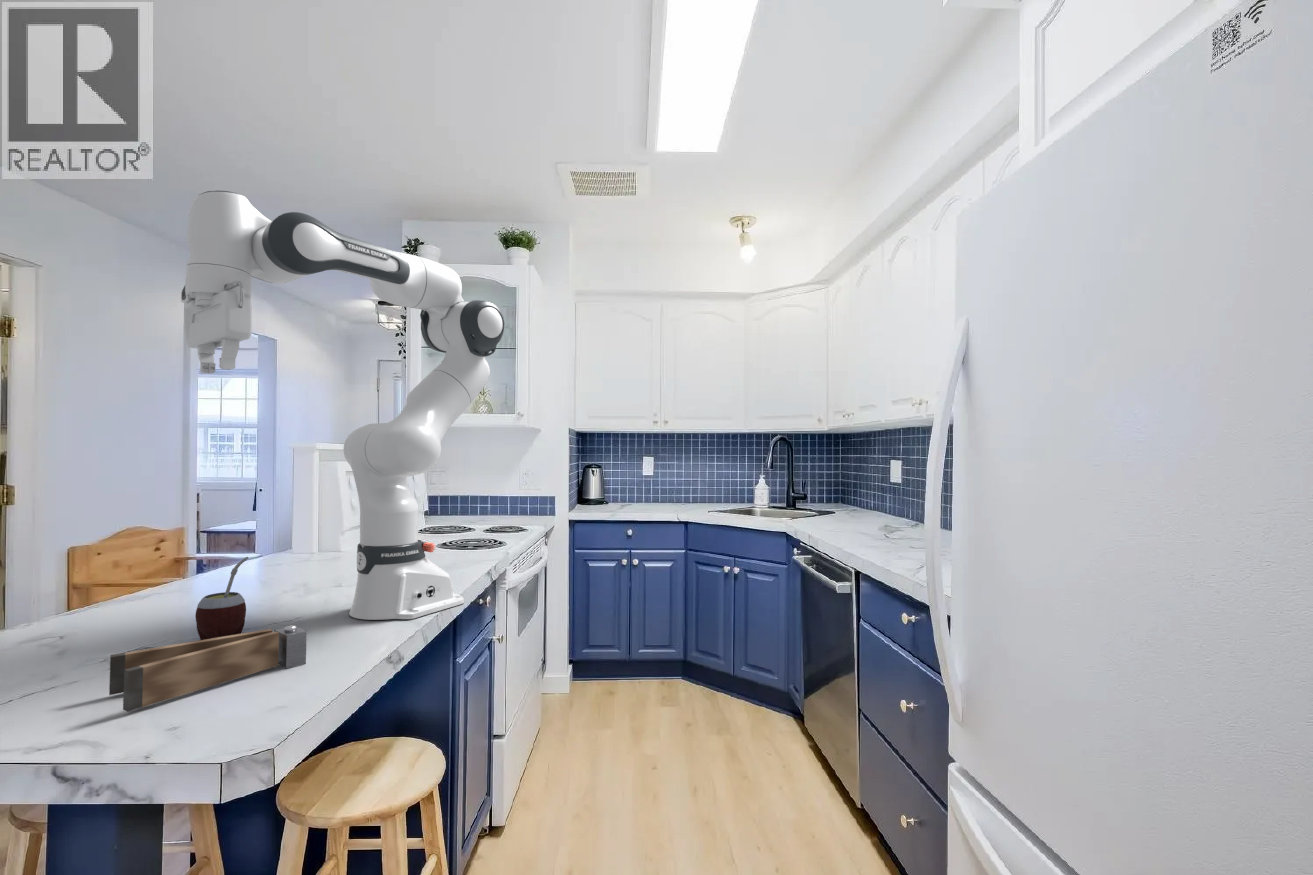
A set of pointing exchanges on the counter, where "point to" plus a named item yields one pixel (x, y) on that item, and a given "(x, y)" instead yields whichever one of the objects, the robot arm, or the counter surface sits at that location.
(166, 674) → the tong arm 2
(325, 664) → the counter surface
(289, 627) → the block
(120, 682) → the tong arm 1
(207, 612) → the mate gourd
